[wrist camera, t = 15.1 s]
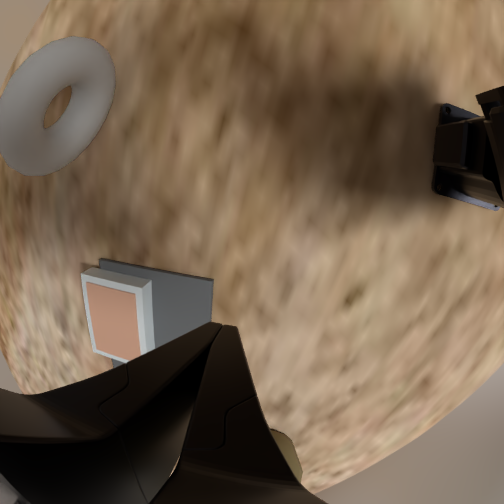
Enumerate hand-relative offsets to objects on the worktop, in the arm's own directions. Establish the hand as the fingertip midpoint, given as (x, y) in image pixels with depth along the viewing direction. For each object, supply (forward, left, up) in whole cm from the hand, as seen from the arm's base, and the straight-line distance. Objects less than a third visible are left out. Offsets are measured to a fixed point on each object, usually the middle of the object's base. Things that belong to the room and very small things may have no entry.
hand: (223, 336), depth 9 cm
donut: (+14, -8, -13) cm, 21 cm away
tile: (+8, +9, -11) cm, 17 cm away
